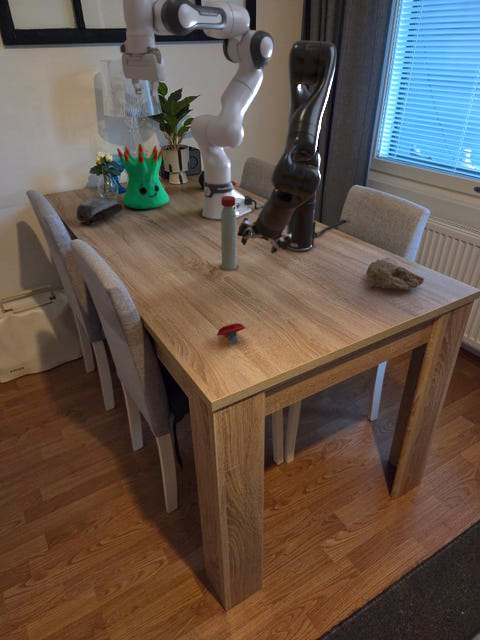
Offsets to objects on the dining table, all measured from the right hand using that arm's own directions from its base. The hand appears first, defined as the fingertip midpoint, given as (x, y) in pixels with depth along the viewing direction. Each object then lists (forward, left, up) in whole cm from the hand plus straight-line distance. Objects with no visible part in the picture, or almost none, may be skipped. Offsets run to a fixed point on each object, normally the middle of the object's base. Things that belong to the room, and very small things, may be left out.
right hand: (258, 246), depth 128 cm
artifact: (-35, +21, -13) cm, 43 cm away
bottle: (-1, -16, -13) cm, 21 cm away
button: (+23, +20, -13) cm, 33 cm away
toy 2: (-46, -99, -13) cm, 110 cm away
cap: (-1, -16, +10) cm, 19 cm away
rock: (+18, -85, -13) cm, 87 cm away
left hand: (+4, -59, +35) cm, 69 cm away
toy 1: (-7, -94, -13) cm, 95 cm away
